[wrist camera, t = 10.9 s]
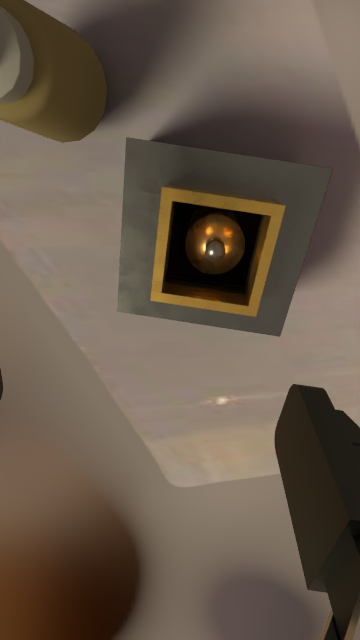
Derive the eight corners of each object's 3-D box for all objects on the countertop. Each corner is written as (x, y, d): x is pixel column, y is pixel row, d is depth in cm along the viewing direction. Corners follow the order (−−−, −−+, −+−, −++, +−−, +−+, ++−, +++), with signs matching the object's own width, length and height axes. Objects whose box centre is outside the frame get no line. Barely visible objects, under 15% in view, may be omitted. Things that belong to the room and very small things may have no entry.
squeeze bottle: (15, 59, 29) (-215, -58, 13) (96, 22, 28) (-54, -162, 12) (56, 155, 33) (-90, 154, 17) (131, 127, 31) (49, 95, 15)
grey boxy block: (146, 142, 32) (117, 135, 21) (300, 165, 31) (346, 169, 21) (136, 278, 38) (109, 323, 28) (264, 298, 38) (285, 351, 27)
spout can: (193, 199, 34) (188, 214, 25) (241, 206, 34) (254, 224, 25) (186, 247, 36) (179, 276, 27) (231, 254, 36) (239, 286, 27)
